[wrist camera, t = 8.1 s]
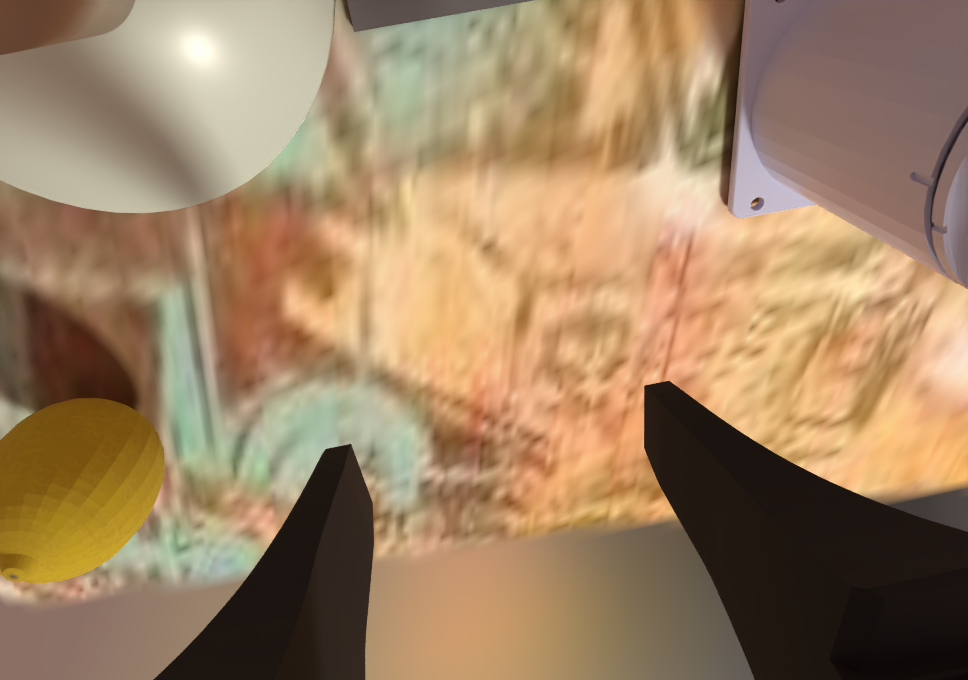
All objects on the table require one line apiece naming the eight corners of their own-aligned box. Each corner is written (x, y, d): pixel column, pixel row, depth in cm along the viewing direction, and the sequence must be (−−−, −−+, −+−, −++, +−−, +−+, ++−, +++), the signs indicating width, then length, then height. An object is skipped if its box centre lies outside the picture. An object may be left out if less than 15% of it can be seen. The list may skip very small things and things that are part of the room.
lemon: (17, 376, 23) (-141, 540, 17) (152, 346, 23) (48, 498, 17) (92, 472, 26) (-16, 644, 20) (212, 446, 26) (145, 609, 20)
